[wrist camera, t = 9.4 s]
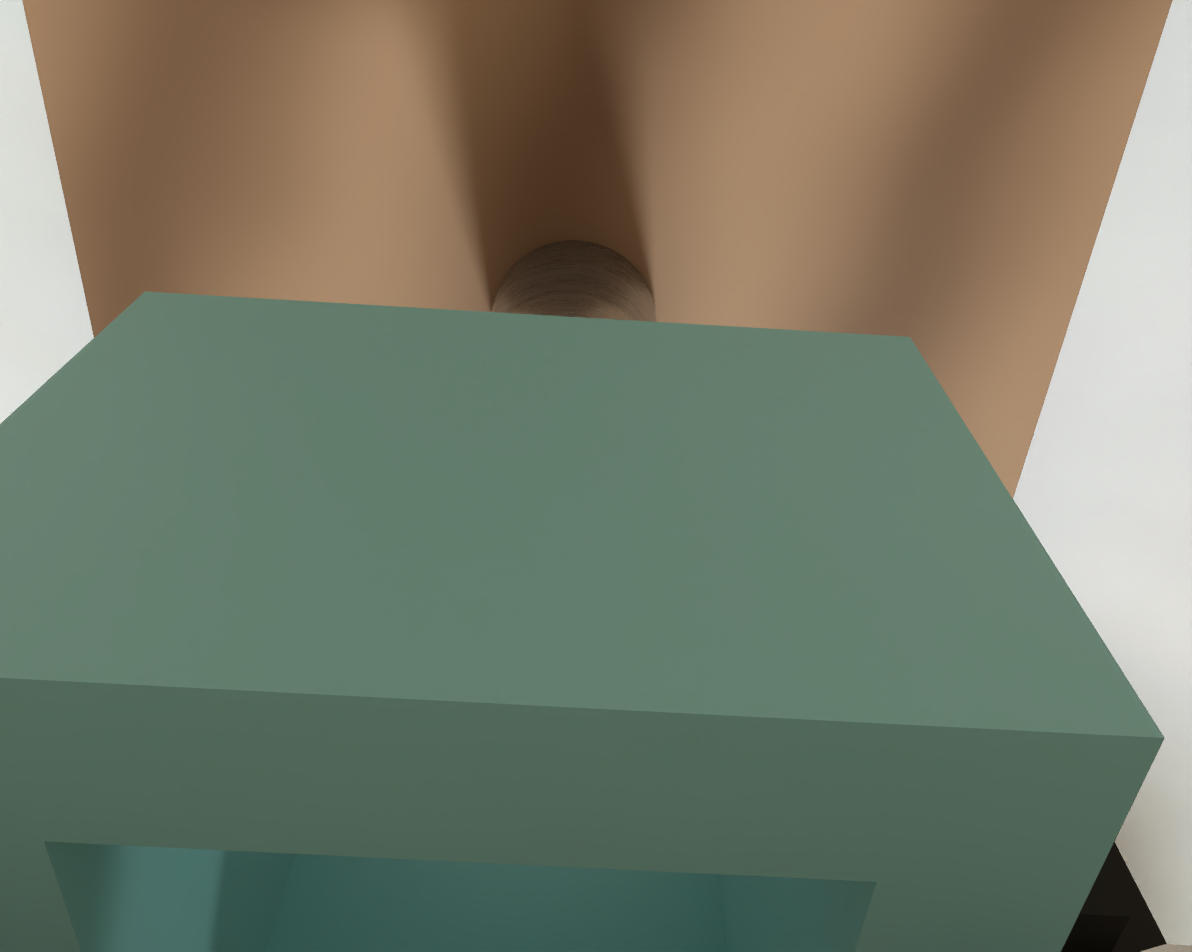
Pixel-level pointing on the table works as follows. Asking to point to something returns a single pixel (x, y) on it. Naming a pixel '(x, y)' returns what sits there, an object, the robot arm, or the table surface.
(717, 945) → the teal collar
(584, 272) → the steel post
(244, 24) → the walnut board
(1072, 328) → the table surface
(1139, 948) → the robot arm
